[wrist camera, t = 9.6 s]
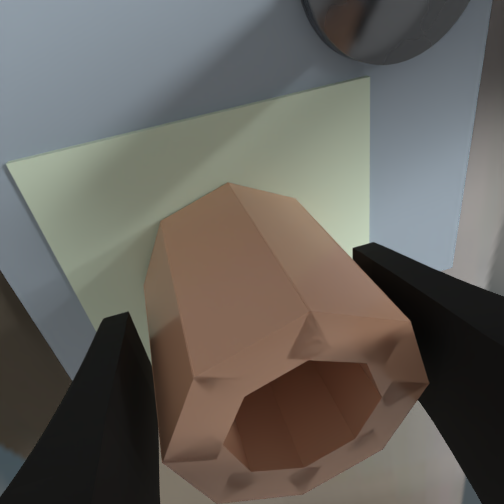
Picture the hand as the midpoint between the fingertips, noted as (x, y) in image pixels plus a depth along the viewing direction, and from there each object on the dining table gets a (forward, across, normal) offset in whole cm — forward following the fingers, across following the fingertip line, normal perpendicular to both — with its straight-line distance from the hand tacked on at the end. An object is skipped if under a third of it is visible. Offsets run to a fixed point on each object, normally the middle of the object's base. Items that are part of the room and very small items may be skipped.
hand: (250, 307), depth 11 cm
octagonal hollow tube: (+2, 0, 0) cm, 2 cm away
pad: (+3, 0, 0) cm, 3 cm away
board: (+3, -1, -12) cm, 12 cm away
